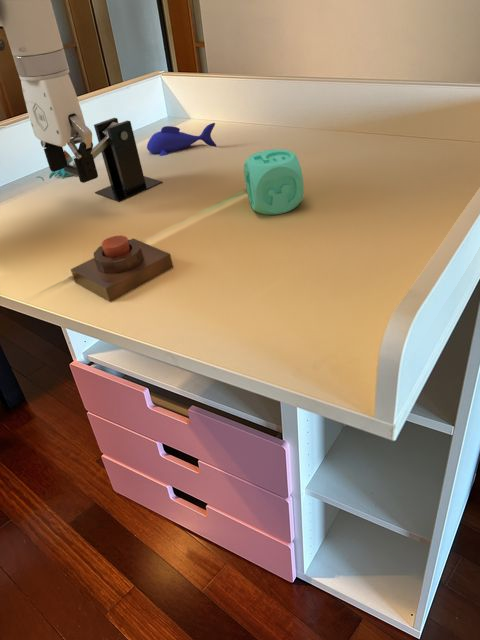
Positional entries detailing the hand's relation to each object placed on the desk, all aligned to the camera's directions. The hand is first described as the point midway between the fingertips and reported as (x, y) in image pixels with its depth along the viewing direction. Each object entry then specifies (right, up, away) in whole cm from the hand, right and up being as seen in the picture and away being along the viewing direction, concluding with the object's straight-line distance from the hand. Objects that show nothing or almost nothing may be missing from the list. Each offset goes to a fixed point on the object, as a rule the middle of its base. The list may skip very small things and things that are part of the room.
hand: (74, 174), depth 96 cm
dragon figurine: (-8, +5, +19) cm, 21 cm away
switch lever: (+4, +4, +2) cm, 6 cm away
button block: (+12, -19, -16) cm, 28 cm away
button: (+12, -17, -18) cm, 27 cm away
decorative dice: (+35, -6, -2) cm, 35 cm away
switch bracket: (+7, -1, +9) cm, 12 cm away
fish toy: (+15, +12, +24) cm, 31 cm away
